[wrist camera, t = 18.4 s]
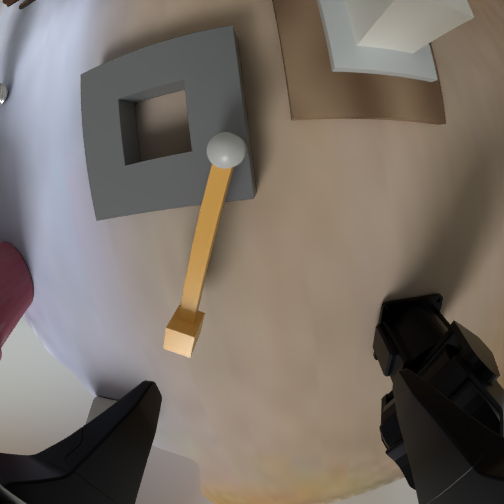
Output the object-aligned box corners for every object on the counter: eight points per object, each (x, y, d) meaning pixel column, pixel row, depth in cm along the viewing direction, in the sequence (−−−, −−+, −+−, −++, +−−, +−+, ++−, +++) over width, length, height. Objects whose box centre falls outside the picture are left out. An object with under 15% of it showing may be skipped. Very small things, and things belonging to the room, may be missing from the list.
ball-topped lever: (219, 131, 15) (207, 126, 12) (251, 139, 15) (246, 136, 12) (176, 324, 20) (163, 348, 18) (200, 332, 20) (190, 357, 18)
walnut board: (408, 1, 12) (413, -5, 11) (438, 124, 16) (445, 123, 15) (269, -12, 13) (269, -19, 12) (291, 120, 17) (292, 118, 16)
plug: (396, 11, 12) (457, -48, 2) (415, 88, 14) (506, 58, 5) (308, 1, 13) (328, -86, 3) (324, 81, 15) (373, 15, 6)
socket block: (237, 39, 15) (232, 25, 13) (256, 193, 19) (253, 198, 17) (97, 79, 17) (80, 74, 14) (113, 213, 21) (96, 220, 18)
